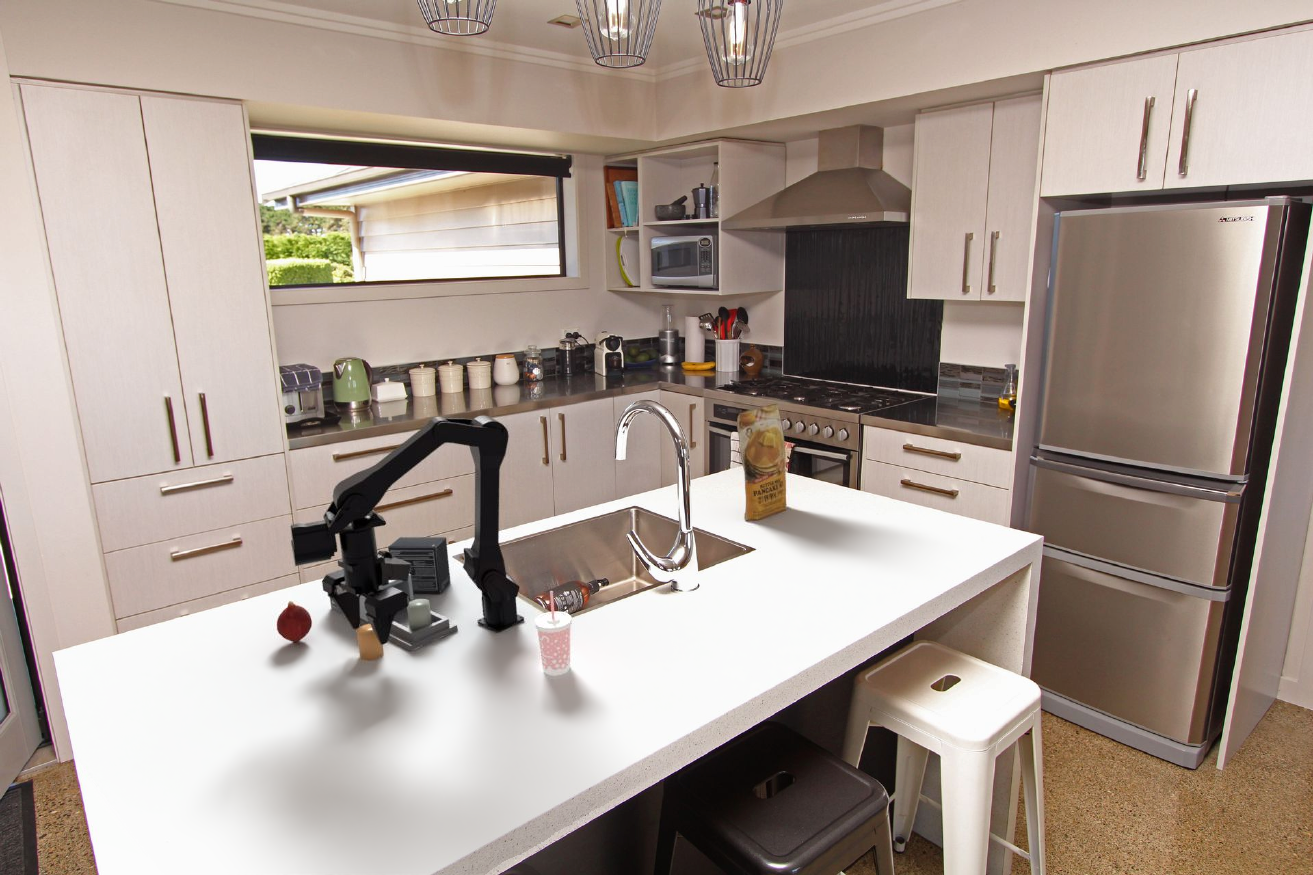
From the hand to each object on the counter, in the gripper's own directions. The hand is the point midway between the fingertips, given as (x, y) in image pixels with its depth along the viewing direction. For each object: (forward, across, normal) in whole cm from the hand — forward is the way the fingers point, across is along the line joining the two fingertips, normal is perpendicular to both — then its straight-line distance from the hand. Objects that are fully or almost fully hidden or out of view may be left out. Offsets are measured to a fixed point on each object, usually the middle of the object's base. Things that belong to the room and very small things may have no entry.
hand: (370, 635), depth 139 cm
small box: (+4, +18, -22) cm, 28 cm away
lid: (+2, +16, -10) cm, 19 cm away
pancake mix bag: (+4, -14, -104) cm, 105 cm away
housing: (+4, +10, -10) cm, 14 cm away
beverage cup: (+4, -30, -17) cm, 34 cm away
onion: (+4, +16, +6) cm, 17 cm away
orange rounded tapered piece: (+4, 0, 0) cm, 4 cm away
